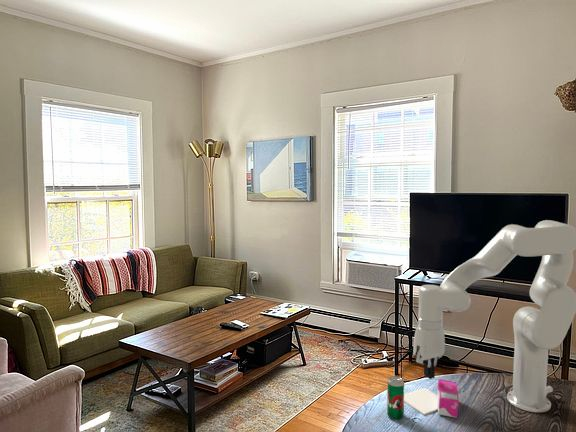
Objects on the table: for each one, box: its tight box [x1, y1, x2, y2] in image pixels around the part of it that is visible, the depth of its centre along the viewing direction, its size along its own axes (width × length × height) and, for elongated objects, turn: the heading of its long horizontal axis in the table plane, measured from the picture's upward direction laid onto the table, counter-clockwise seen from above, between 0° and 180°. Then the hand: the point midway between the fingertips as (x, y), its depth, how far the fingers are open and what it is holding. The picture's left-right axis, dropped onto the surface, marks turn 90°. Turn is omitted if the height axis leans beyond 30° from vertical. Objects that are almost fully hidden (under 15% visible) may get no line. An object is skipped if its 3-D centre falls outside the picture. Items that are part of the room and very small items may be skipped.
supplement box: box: [436, 378, 460, 419], centre depth 142 cm, size 6×6×12 cm
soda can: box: [386, 375, 405, 421], centre depth 138 cm, size 5×5×12 cm
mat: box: [404, 387, 438, 416], centre depth 146 cm, size 12×12×1 cm
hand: (429, 376), depth 146 cm, fingers closed
